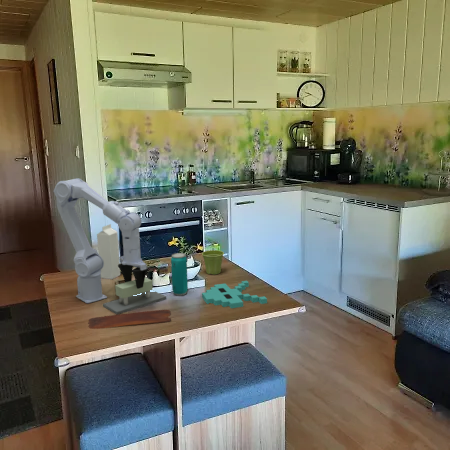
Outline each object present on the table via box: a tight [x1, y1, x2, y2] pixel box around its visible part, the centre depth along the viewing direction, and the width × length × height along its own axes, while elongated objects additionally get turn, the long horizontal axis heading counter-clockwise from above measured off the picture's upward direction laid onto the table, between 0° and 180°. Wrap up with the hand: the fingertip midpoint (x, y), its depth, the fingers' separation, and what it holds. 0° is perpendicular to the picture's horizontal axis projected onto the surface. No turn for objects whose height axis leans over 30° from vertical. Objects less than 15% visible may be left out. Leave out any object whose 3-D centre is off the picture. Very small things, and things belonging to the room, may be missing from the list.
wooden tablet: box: [87, 309, 172, 330], centre depth 148 cm, size 27×10×2 cm, turn 101°
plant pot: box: [201, 249, 225, 275], centre depth 193 cm, size 9×9×9 cm
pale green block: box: [114, 277, 154, 298], centre depth 160 cm, size 12×5×4 cm, turn 133°
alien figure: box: [201, 280, 268, 309], centre depth 165 cm, size 20×2×20 cm
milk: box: [96, 223, 121, 280], centre depth 189 cm, size 6×6×22 cm
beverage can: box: [170, 252, 189, 296], centre depth 168 cm, size 6×6×15 cm
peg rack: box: [102, 291, 167, 315], centre depth 161 cm, size 10×20×4 cm, turn 132°
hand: (134, 285), depth 160 cm, fingers open, 7 cm apart
